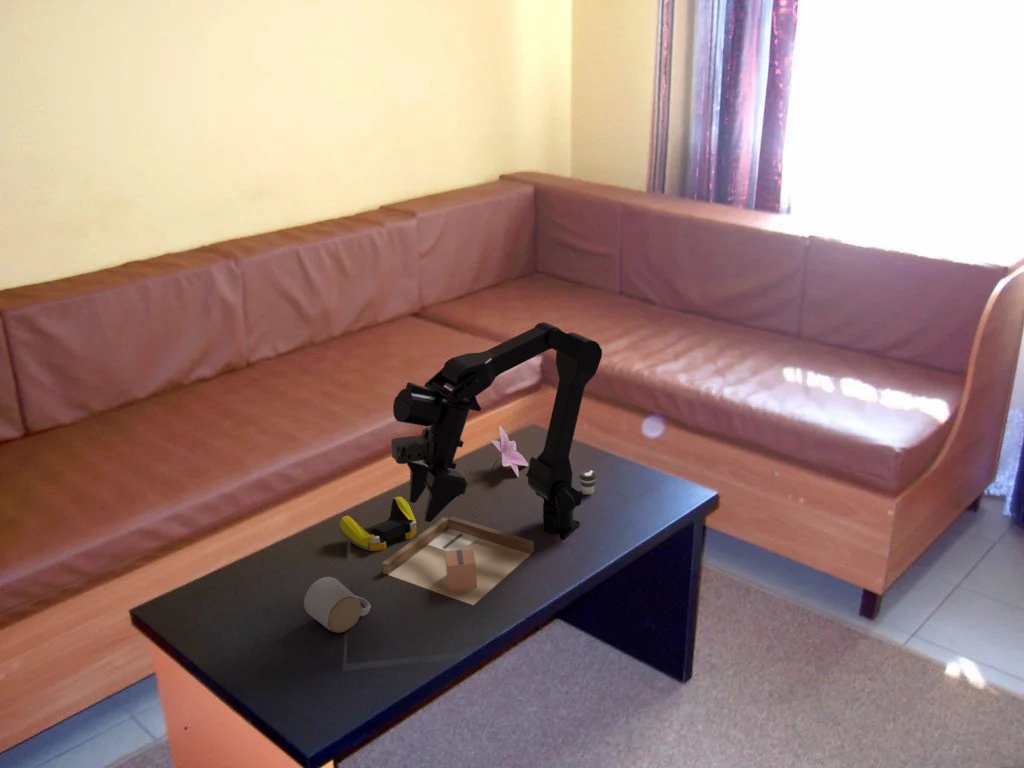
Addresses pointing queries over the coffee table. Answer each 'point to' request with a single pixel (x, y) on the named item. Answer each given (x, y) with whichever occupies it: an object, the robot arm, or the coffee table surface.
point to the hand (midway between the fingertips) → (419, 511)
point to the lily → (509, 452)
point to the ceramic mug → (334, 605)
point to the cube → (461, 569)
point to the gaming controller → (382, 528)
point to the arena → (427, 551)
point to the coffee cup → (587, 481)
